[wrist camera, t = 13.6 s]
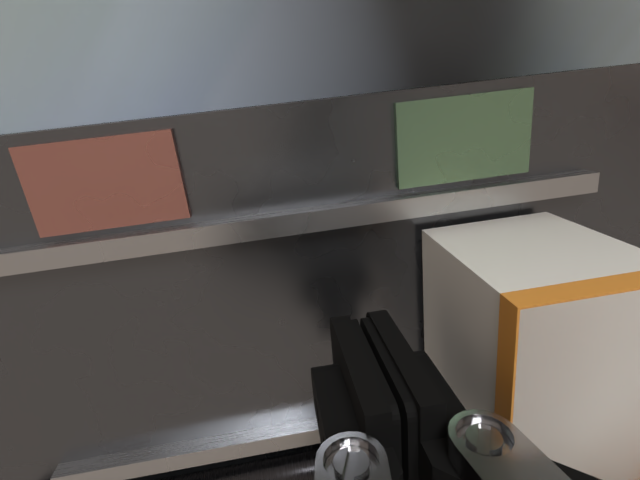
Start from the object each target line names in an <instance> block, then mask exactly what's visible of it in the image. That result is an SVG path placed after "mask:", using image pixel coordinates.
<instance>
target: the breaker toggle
mask: <svg viewBox="0 0 640 480" xmlns="http://www.w3.org/2000/svg"><path fill="white" fill-rule="evenodd" d="M422 263H423V308H424V351H425V352H426V353H427V355H428V356H429V357H430V359H431V360H432V362H433V363H434V365H435V366H436V367H437V369H438V370H439V372H440V373H441V375H442V376H443V377H444V379H445V380H446V382H447V383H448V385H449V386H450V387H451V389H452V390H453V392H454V393H455V395H456V396H457V397H458V399H459V400H460V402H461V403H462V405H463V406H464V408H465V409H466V410H471V409H477V410H486V411H490V412H493V413H496V414H498V415H500V416H502V417H504V418H506V419H507V420H508V421H510V422H511V423H512V424H514V425H515V426H516V427H517V428H518V429H519V430H520V431H521V432H522V433H523V434H524V435H525V436H526V437H527V438H528V439H529V440H530V441H531V442H533V443H534V444H535V445H536V446H537V447H538V448H539V449H540V450H541V451H542V452H543V453H544V454H545V455H546V456H547V457H548V458H549V459H550V460H553V461H555V462H558V463H560V464H563V465H566V466H568V467H571V468H573V469H576V470H578V471H581V472H583V473H586V474H589V475H591V476H594V477H596V478H599V479H601V480H640V248H638V247H636V246H633V245H631V244H628V243H625V242H623V241H620V240H618V239H615V238H613V237H610V236H607V235H605V234H602V233H600V232H597V231H595V230H592V229H589V228H587V227H584V226H582V225H579V224H577V223H574V222H571V221H569V220H566V219H564V218H561V217H559V216H556V215H553V214H551V213H548V212H541V213H534V214H527V215H521V216H514V217H507V218H500V219H493V220H486V221H479V222H472V223H465V224H458V225H451V226H444V227H438V228H431V229H424V230H422Z"/></svg>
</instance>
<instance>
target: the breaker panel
mask: <svg viewBox="0 0 640 480" xmlns="http://www.w3.org/2000/svg"><path fill="white" fill-rule="evenodd" d="M541 212H548V213H551V214H553V215H556V216H559V217H561V218H564V219H566V220H569V221H571V222H574V223H577V224H579V225H582V226H584V227H587V228H589V229H592V230H595V231H597V232H600V233H602V234H605V235H607V236H610V237H613V238H615V239H618V240H620V241H623V242H625V243H628V244H631V245H633V246H636V247H638V248H640V63H636V64H627V65H617V66H607V67H598V68H588V69H579V70H571V71H562V72H553V73H544V74H535V75H526V76H517V77H509V78H500V79H491V80H482V81H473V82H464V83H456V84H447V85H438V86H429V87H420V88H411V89H402V90H394V91H385V92H376V93H367V94H358V95H349V96H340V97H332V98H323V99H314V100H305V101H296V102H287V103H278V104H270V105H261V106H252V107H243V108H234V109H225V110H216V111H208V112H199V113H190V114H181V115H172V116H163V117H155V118H146V119H137V120H128V121H119V122H110V123H101V124H93V125H84V126H75V127H66V128H57V129H48V130H39V131H31V132H22V133H13V134H4V135H0V480H315V458H316V453H317V451H318V449H319V447H320V446H321V440H320V435H319V430H318V424H317V418H316V412H315V405H314V397H313V389H312V379H311V368H312V367H318V366H325V365H331V364H333V358H332V346H331V334H330V318H331V317H338V316H344V315H349V316H350V318H351V320H352V319H357V320H358V322H359V324H360V319H361V318H366V313H367V312H373V311H379V310H387V311H388V313H389V315H390V316H391V318H392V319H393V321H394V322H395V324H396V325H397V327H398V328H399V330H400V332H401V333H402V335H403V336H404V338H405V339H406V341H407V342H408V344H409V345H410V347H411V348H412V350H413V352H414V351H420V350H423V351H424V308H423V263H422V230H424V229H431V228H438V227H444V226H451V225H458V224H465V223H472V222H479V221H486V220H493V219H500V218H507V217H514V216H521V215H527V214H534V213H541Z"/></svg>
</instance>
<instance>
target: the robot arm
mask: <svg viewBox="0 0 640 480" xmlns="http://www.w3.org/2000/svg"><path fill="white" fill-rule="evenodd" d="M330 334H331V346H332V358H333V364H331V365H325V366H318V367H312V368H311V379H312V389H313V397H314V405H315V412H316V418H317V424H318V430H319V435H320V440H321V446H320V447H319V449H318V451H317V453H316V458H315V480H601V479H599V478H596V477H594V476H591V475H589V474H586V473H583V472H581V471H578V470H576V469H573V468H571V467H568V466H566V465H563V464H560V463H558V462H555V461H553V460H550V459H549V458H548V457H547V456H546V455H545V454H544V453H543V452H542V451H541V450H540V449H539V448H538V447H537V446H536V445H535V444H534V443H533V442H531V441H530V440H529V439H528V438H527V437H526V436H525V435H524V434H523V433H522V432H521V431H520V430H519V429H518V428H517V427H516V426H515V425H514V424H512V423H511V422H510V421H508V420H507V419H506V418H504V417H502V416H500V415H498V414H496V413H493V412H490V411H486V410H477V409H471V410H466V409H465V408H464V406H463V405H462V403H461V402H460V400H459V399H458V397H457V396H456V395H455V393H454V392H453V390H452V389H451V387H450V386H449V385H448V383H447V382H446V380H445V379H444V377H443V376H442V375H441V373H440V372H439V370H438V369H437V367H436V366H435V365H434V363H433V362H432V360H431V359H430V357H429V356H428V355H427V353H426V352H425V351H423V350H420V351H414V352H413V350H412V348H411V347H410V345H409V344H408V342H407V341H406V339H405V338H404V336H403V335H402V333H401V332H400V330H399V328H398V327H397V325H396V324H395V322H394V321H393V319H392V318H391V316H390V315H389V313H388V311H387V310H379V311H373V312H367V313H366V318H361V319H360V324H359V322H358V320H357V319H352V320H351V318H350V316H349V315H344V316H338V317H331V318H330Z"/></svg>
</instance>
